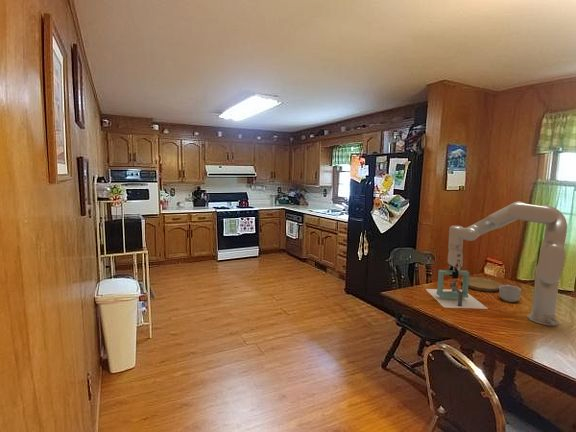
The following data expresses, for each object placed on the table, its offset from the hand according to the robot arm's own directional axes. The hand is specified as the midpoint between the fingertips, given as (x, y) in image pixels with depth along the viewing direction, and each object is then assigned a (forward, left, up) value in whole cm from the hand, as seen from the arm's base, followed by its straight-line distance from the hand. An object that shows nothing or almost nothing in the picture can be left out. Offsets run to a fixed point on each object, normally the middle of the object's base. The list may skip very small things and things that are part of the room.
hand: (453, 276), depth 194 cm
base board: (+1, -2, -15) cm, 15 cm away
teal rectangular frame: (0, 0, -12) cm, 12 cm away
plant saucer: (+28, -31, -16) cm, 45 cm away
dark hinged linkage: (+1, -3, -14) cm, 14 cm away
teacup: (+5, -36, -15) cm, 39 cm away
